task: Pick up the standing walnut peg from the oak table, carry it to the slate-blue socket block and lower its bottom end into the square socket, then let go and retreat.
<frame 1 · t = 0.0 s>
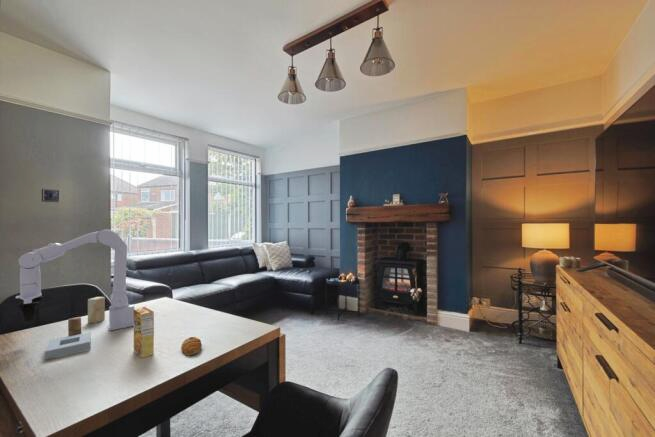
hand: (31, 318, 114), 10 cm above the table, tool pointing down, fingers open, 7 cm apart
candy box: (143, 353, 105), on the table
box: (96, 321, 139), on the table
peg: (75, 338, 119), on the table
socket block: (69, 349, 109), on the table
pastry: (192, 350, 107), on the table
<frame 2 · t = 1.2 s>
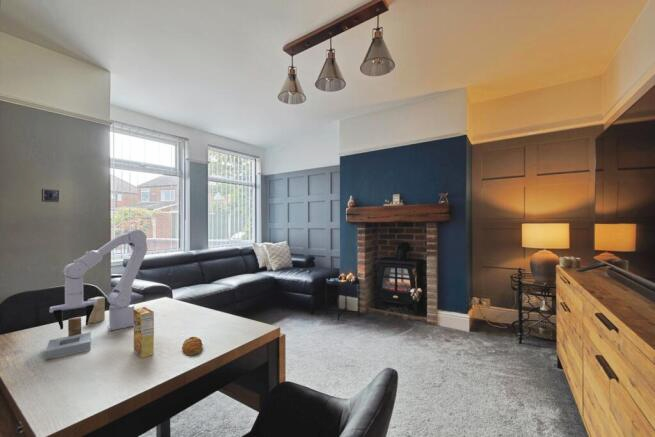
hand: (74, 326, 119), 5 cm above the table, tool pointing down, fingers open, 7 cm apart
nothing on the table moved.
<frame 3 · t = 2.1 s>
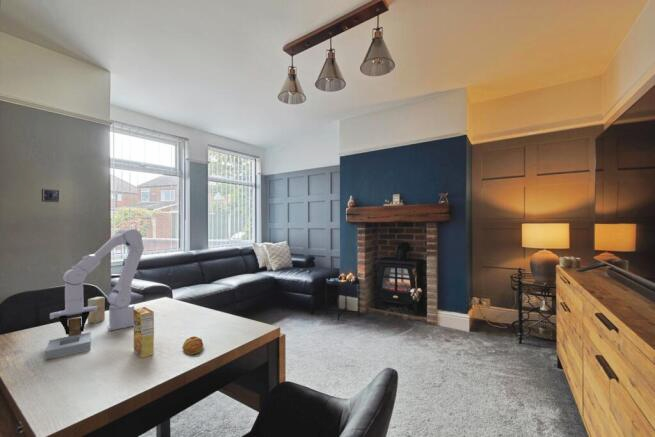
hand: (74, 332, 119), 2 cm above the table, tool pointing down, fingers closed on peg, 4 cm apart
peg: (75, 338, 119), on the table, touching gripper
everything else where it was.
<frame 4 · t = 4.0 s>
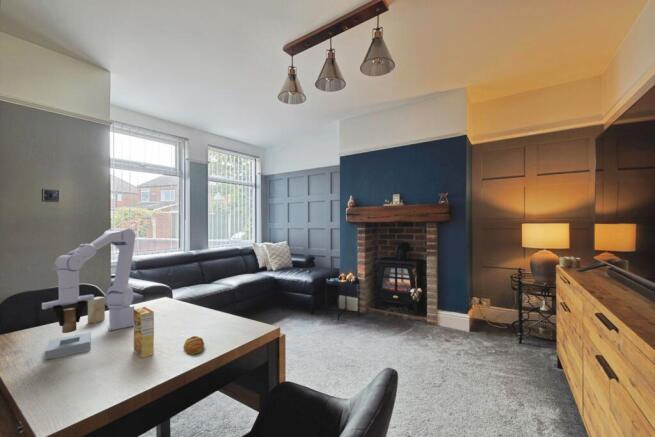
hand: (69, 323, 109), 9 cm above the table, tool pointing down, fingers closed on peg, 4 cm apart
peg: (69, 331, 109), point 7 cm above the table, touching gripper
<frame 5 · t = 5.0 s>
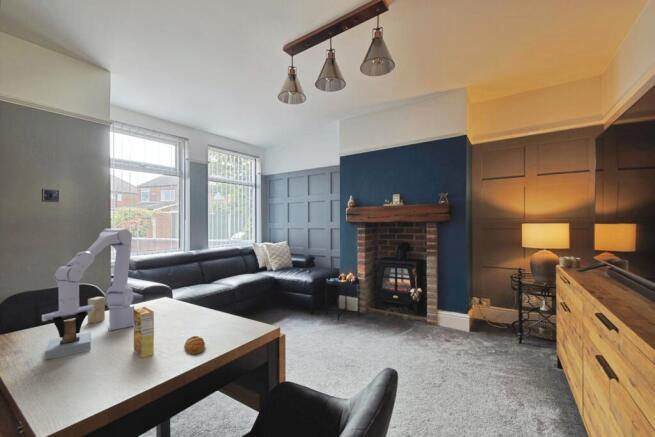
hand: (69, 334, 109), 5 cm above the table, tool pointing down, fingers closed on peg, 4 cm apart
peg: (69, 342, 109), point 2 cm above the table, touching gripper
when the fingers open (4 cm above the table, at t = 5.8 s): peg stays where it is, resting on socket block.
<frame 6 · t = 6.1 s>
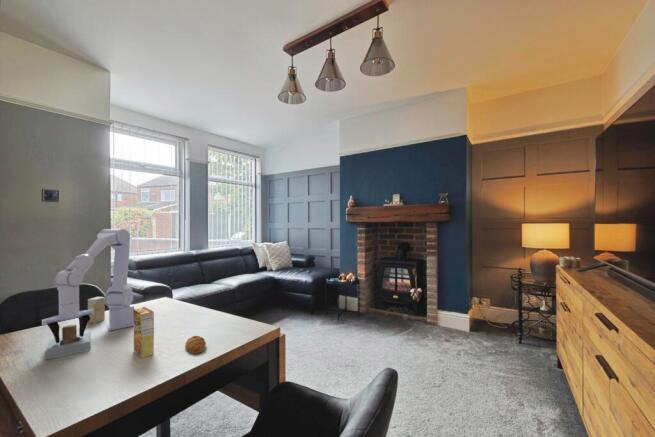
hand: (69, 339, 109), 4 cm above the table, tool pointing down, fingers open, 6 cm apart
peg: (69, 348, 109), resting on socket block
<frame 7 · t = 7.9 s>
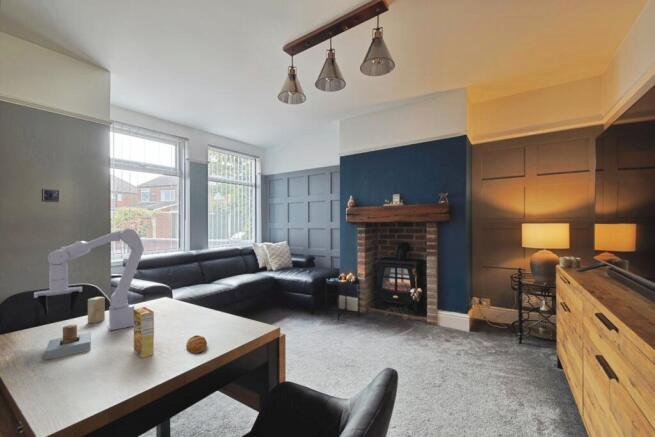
hand: (59, 311, 120), 10 cm above the table, tool pointing down, fingers open, 7 cm apart
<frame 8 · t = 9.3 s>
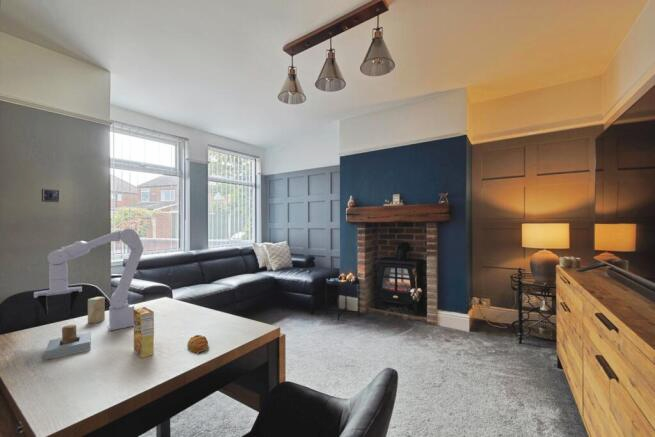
hand: (59, 311, 120), 10 cm above the table, tool pointing down, fingers open, 7 cm apart
at the end: peg 0.1 cm off-centre on the socket block, point 0.3 cm above the socket block's base; peg tilted 1°; the gripper is holding nothing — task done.
